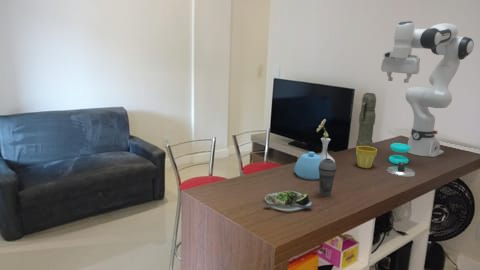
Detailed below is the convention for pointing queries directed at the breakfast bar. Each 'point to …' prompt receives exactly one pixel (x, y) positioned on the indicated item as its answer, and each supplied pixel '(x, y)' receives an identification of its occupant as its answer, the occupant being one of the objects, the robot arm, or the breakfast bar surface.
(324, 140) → the flower in vase
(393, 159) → the donuts
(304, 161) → the sugar bowl
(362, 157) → the plant pot
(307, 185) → the breakfast bar surface
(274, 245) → the breakfast bar surface
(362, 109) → the olive green textured cylinder
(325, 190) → the beverage cup
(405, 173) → the steel lid
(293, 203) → the salad plate
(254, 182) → the breakfast bar surface
